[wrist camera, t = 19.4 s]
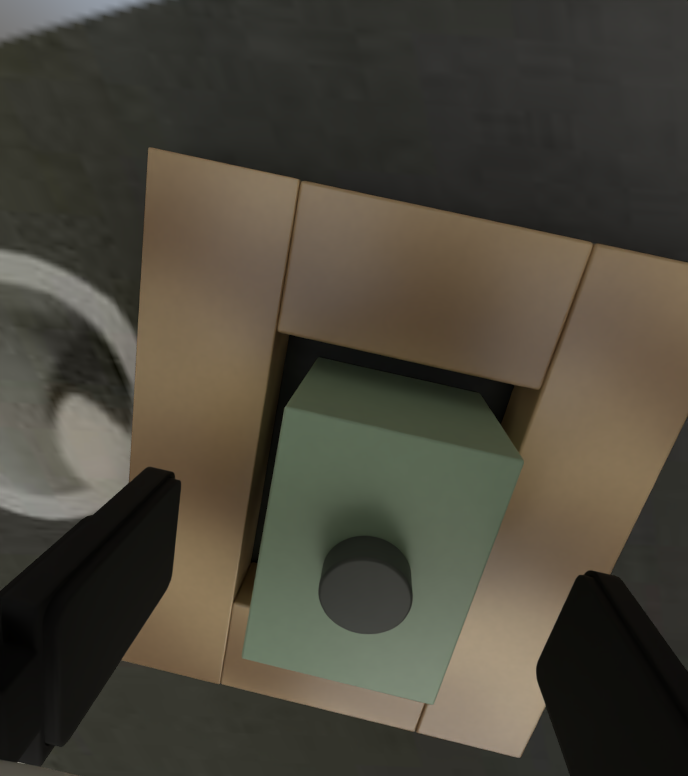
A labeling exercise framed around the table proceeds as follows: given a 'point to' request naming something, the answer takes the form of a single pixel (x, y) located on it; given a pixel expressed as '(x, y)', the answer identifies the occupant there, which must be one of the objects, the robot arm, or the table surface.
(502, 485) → the green knobbed block
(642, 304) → the wooden frame
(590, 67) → the table surface
